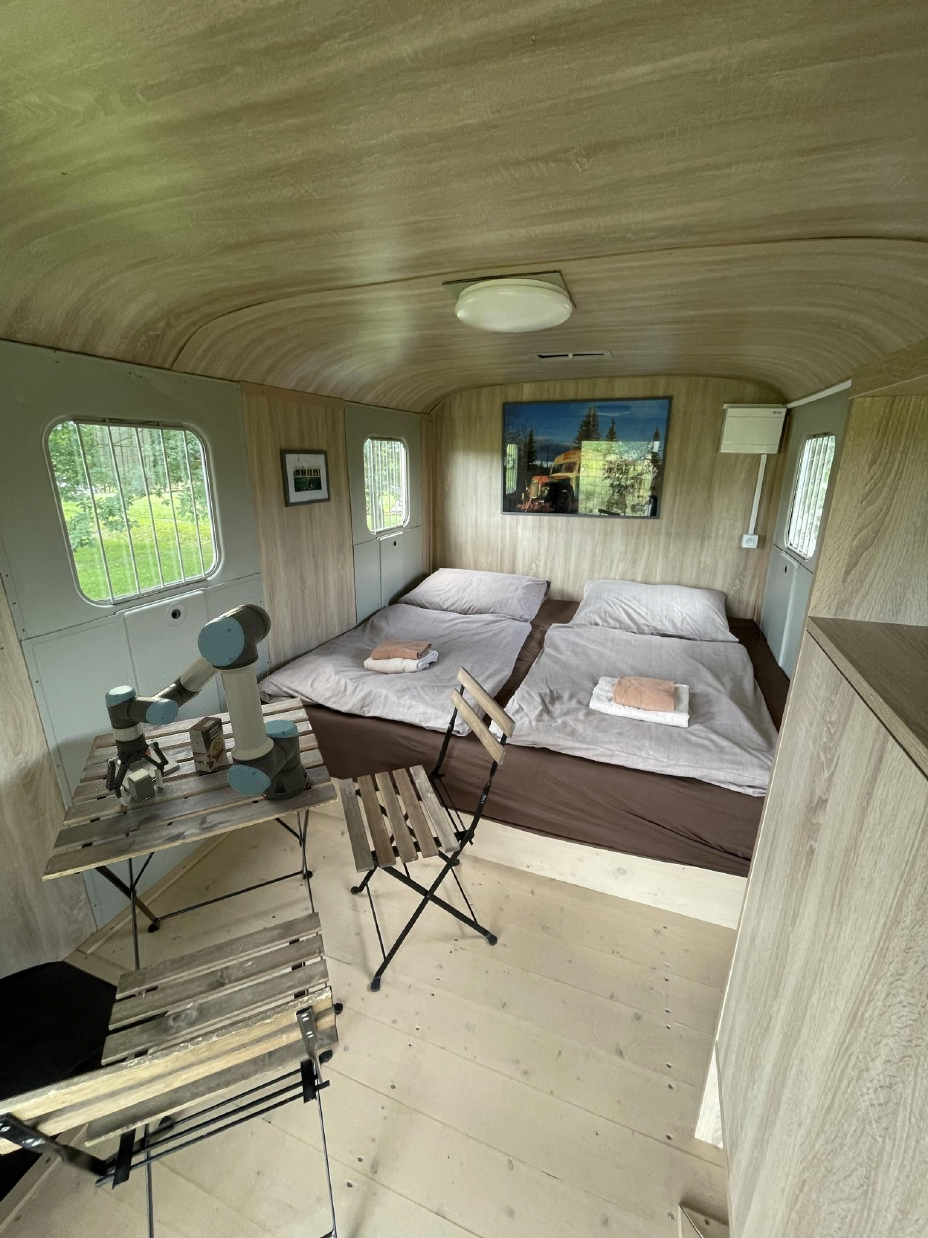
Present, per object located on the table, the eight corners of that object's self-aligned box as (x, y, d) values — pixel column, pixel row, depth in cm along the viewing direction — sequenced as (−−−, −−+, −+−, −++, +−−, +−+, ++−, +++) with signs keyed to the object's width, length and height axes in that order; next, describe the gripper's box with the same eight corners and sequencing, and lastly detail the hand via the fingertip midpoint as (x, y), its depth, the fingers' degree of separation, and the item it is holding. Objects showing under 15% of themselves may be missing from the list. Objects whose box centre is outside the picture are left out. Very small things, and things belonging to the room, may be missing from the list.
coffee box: (211, 772, 171) (204, 731, 166) (194, 769, 172) (187, 729, 167) (228, 756, 180) (222, 717, 174) (212, 754, 181) (205, 715, 175)
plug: (155, 794, 160) (150, 773, 157) (138, 803, 156) (133, 782, 153) (148, 788, 163) (143, 767, 160) (131, 796, 159) (126, 775, 156)
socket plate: (179, 767, 173) (179, 764, 172) (129, 792, 160) (128, 788, 160) (157, 751, 181) (156, 747, 181) (107, 773, 169) (106, 769, 168)
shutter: (151, 755, 176) (149, 748, 175) (122, 768, 169) (121, 760, 168) (140, 747, 180) (138, 740, 179) (112, 759, 173) (110, 752, 172)
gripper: (162, 715, 162) (173, 772, 170) (80, 747, 145) (97, 809, 153) (173, 723, 158) (184, 781, 166) (91, 757, 141) (108, 820, 149)
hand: (142, 794), depth 159 cm, fingers open, 10 cm apart
